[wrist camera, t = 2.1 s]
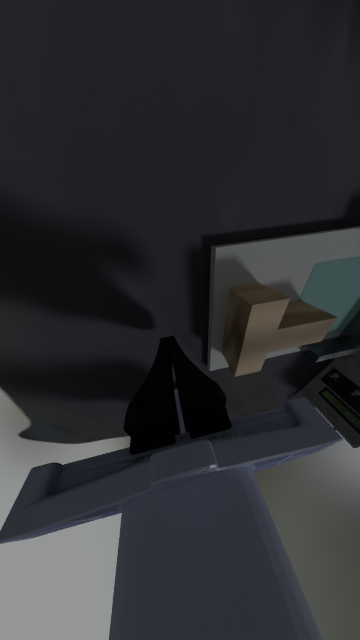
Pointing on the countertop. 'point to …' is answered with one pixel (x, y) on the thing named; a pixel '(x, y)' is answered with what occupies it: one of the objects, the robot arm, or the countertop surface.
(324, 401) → the geiger counter
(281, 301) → the t block
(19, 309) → the countertop surface
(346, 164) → the countertop surface
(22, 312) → the countertop surface
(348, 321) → the mat
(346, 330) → the bracket
